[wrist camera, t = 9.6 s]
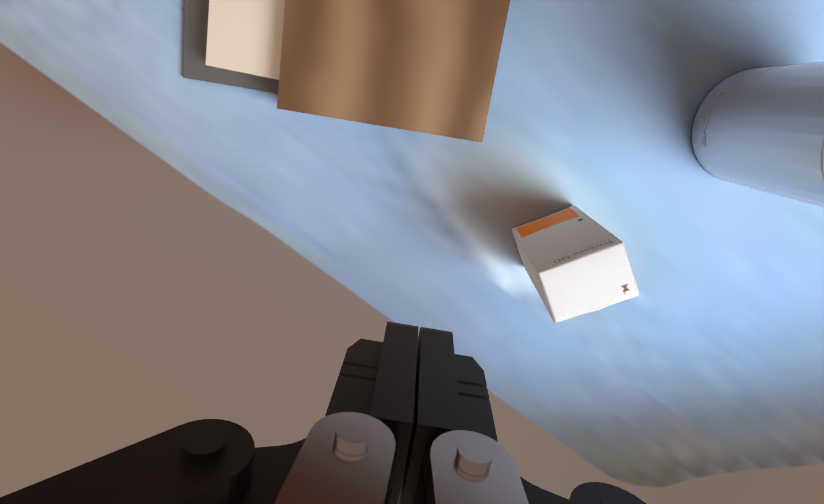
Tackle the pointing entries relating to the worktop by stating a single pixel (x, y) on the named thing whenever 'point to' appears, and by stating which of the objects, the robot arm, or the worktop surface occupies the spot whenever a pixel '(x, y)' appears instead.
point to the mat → (196, 53)
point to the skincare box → (574, 263)
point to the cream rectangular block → (246, 36)
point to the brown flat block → (393, 62)
